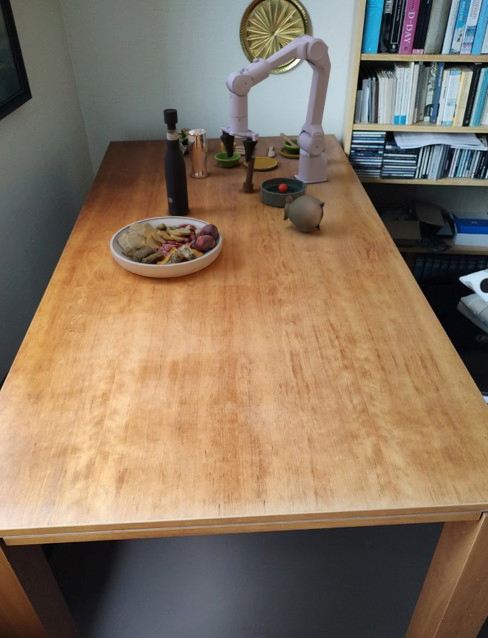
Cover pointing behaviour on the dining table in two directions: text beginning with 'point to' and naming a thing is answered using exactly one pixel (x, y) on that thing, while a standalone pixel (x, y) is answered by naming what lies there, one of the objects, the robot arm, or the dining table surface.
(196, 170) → the metal tumbler
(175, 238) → the bowl
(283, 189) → the tomato
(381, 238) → the dining table surface
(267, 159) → the tableware set
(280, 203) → the bowl
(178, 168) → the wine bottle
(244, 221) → the dining table surface
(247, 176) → the muddler
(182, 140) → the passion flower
